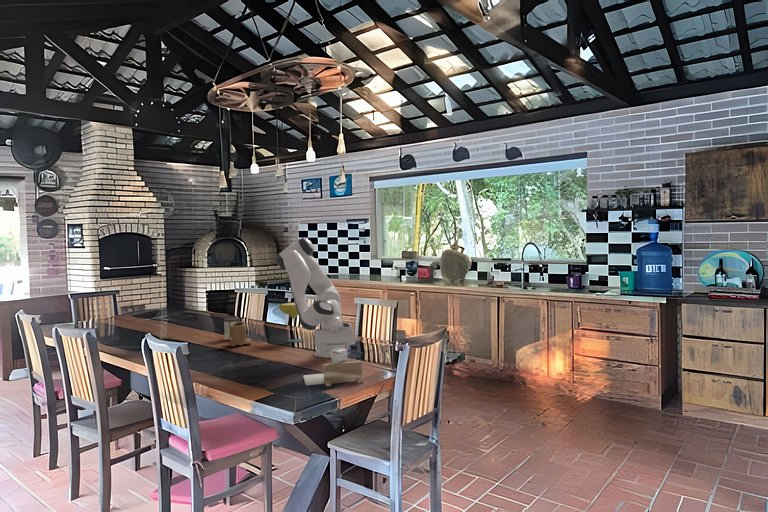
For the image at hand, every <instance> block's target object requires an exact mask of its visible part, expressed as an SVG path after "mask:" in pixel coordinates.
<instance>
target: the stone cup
mask: <svg viewBox="0 0 768 512" xmlns="http://www.w3.org/2000/svg"><path fill="white" fill-rule="evenodd" d="M247 328H248V327H247V324H246V322H244V321H240V322H236V323H232V324H231V325H230V328H229V330H230V335H231V337H232V341H228V343H227V346H229V345H230V347H237V346H236V345H240V346H245V345H244V344H246V345H250V343H251V344H252V339H251V337H249V338H248V337H247V338H246V334H247Z"/></svg>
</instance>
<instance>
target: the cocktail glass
mask: <svg viewBox="0 0 768 512" xmlns="http://www.w3.org/2000/svg"><path fill="white" fill-rule="evenodd" d="M278 306H279V307H278V309H279V310H280V312H281V313H284V314H285V315H287V316H289V317H291V319H292V320H293V338H292V339H287V341H289V342H299V343H301V342H300V341H302V342H303V341H304V340H303V339H299V338H296V329H295V328H296V326H295V325H296V324H295V319H296V318H297V316H299V314H298V311H297V308H296V305H295V302H294V301H285V302H280V303H279V305H278Z"/></svg>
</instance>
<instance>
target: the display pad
mask: <svg viewBox="0 0 768 512" xmlns="http://www.w3.org/2000/svg"><path fill="white" fill-rule="evenodd" d="M302 378H303V380H304V384H305V386H313V385H315V386H316V385H325V384H324V373H314V374H305V375H304V374H303V377H302Z"/></svg>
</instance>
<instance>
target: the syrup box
mask: <svg viewBox="0 0 768 512" xmlns="http://www.w3.org/2000/svg"><path fill="white" fill-rule="evenodd" d="M347 352H348V349H347V350H346V349H343V348H337V349H334V350H331V358H330V364H332V363H344V362H348V354H347Z"/></svg>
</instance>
